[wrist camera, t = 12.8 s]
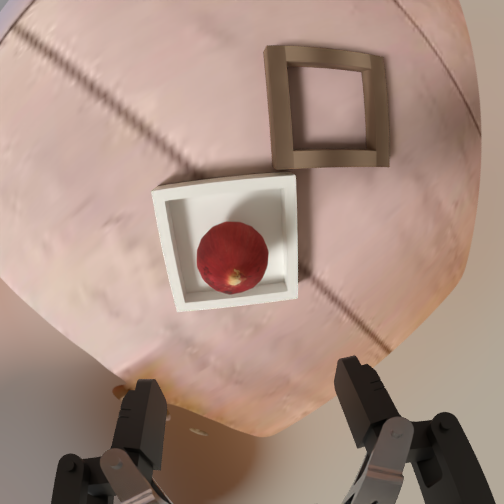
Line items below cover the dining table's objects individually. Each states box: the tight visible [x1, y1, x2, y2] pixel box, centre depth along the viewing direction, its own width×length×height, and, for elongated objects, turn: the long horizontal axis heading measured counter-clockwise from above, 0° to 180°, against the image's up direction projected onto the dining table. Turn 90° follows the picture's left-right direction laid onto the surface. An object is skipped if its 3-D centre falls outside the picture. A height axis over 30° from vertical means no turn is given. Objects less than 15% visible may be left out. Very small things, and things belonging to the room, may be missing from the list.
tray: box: [151, 172, 298, 312], centre depth 26 cm, size 12×12×2 cm
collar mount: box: [263, 46, 389, 170], centre depth 21 cm, size 11×11×2 cm
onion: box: [197, 221, 269, 295], centre depth 22 cm, size 6×6×8 cm
